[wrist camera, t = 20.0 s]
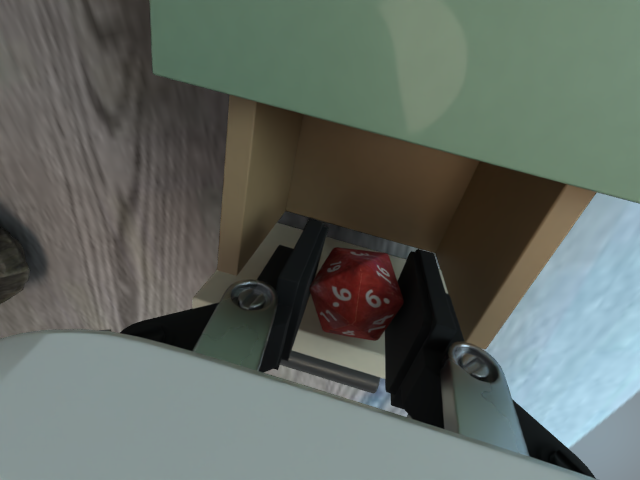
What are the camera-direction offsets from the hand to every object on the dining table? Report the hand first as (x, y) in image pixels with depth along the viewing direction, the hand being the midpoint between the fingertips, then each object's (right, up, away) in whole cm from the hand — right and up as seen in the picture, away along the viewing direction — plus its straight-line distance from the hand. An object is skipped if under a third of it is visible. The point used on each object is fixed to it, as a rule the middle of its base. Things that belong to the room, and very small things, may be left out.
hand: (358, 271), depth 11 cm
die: (0, 0, 0) cm, 0 cm away
